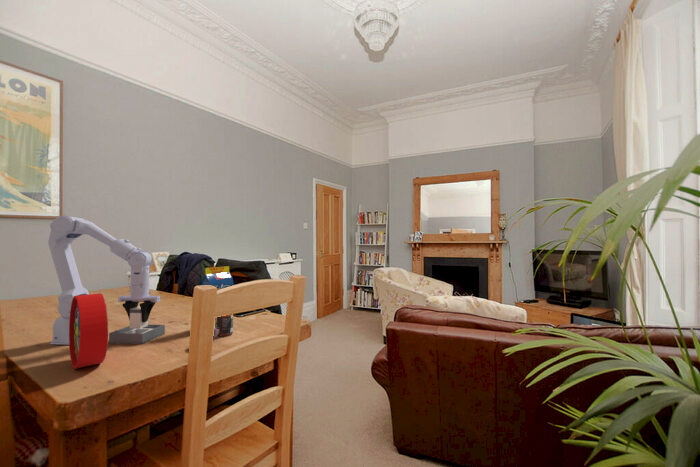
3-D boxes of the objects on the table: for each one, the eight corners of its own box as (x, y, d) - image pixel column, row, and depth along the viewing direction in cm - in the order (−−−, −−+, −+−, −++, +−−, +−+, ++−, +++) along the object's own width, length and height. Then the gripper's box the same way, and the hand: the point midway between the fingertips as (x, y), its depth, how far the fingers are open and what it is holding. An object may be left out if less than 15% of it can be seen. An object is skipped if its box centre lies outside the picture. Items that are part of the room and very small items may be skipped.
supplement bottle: (236, 333, 120) (236, 304, 120) (222, 337, 115) (223, 307, 115) (226, 331, 123) (227, 302, 123) (212, 335, 118) (213, 305, 118)
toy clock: (67, 358, 93) (70, 291, 94) (92, 353, 98) (95, 289, 98) (78, 378, 80) (81, 300, 81) (106, 371, 84) (109, 297, 85)
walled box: (108, 343, 107) (109, 333, 108) (134, 333, 119) (134, 324, 120) (142, 344, 107) (142, 333, 107) (164, 333, 119) (164, 324, 119)
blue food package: (198, 329, 125) (200, 267, 126) (222, 322, 136) (224, 265, 137) (209, 331, 123) (210, 268, 123) (233, 324, 133) (234, 266, 134)
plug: (129, 328, 112) (129, 308, 112) (137, 325, 116) (138, 306, 116) (140, 328, 111) (140, 309, 112) (148, 325, 115) (148, 306, 116)
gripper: (165, 283, 118) (165, 319, 117) (128, 282, 118) (127, 318, 118) (153, 285, 110) (152, 324, 110) (114, 285, 111) (112, 323, 111)
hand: (138, 321), depth 113 cm, fingers closed on plug, 4 cm apart
